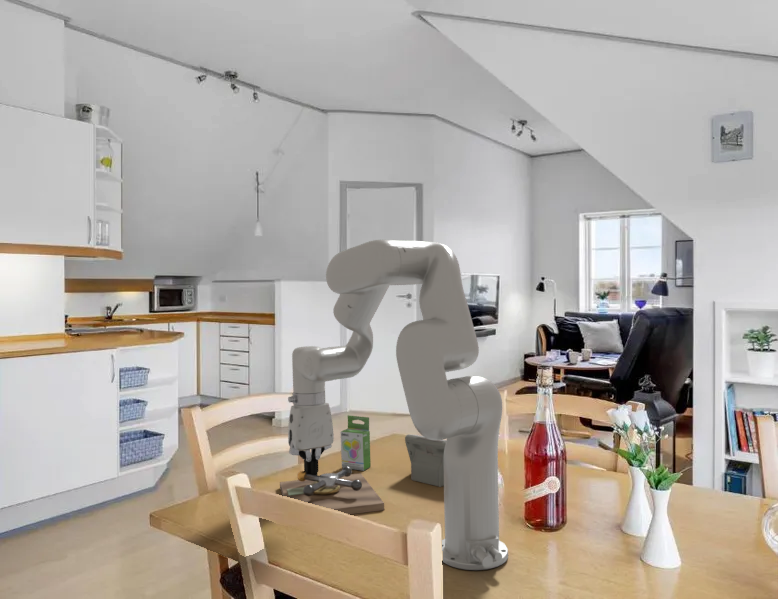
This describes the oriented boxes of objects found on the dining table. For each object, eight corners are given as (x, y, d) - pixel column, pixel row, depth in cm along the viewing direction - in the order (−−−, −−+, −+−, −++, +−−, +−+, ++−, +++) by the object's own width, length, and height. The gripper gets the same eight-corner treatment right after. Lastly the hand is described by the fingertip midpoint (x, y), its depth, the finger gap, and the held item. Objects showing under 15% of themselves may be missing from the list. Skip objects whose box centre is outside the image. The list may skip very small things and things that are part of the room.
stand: (384, 509, 130) (384, 502, 130) (290, 521, 124) (290, 513, 124) (360, 479, 151) (360, 472, 151) (280, 488, 145) (279, 481, 145)
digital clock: (470, 483, 146) (469, 439, 146) (443, 492, 140) (442, 446, 140) (426, 468, 159) (425, 428, 158) (399, 476, 153) (398, 434, 153)
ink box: (340, 468, 161) (339, 418, 160) (349, 464, 164) (347, 415, 164) (363, 471, 157) (362, 420, 157) (371, 467, 161) (369, 417, 160)
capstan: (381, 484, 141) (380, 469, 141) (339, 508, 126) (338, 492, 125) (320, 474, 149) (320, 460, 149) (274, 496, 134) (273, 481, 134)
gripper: (287, 405, 135) (289, 486, 136) (344, 397, 144) (346, 473, 144) (273, 400, 142) (275, 478, 142) (329, 393, 150) (331, 466, 150)
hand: (311, 476), depth 143 cm, fingers closed
